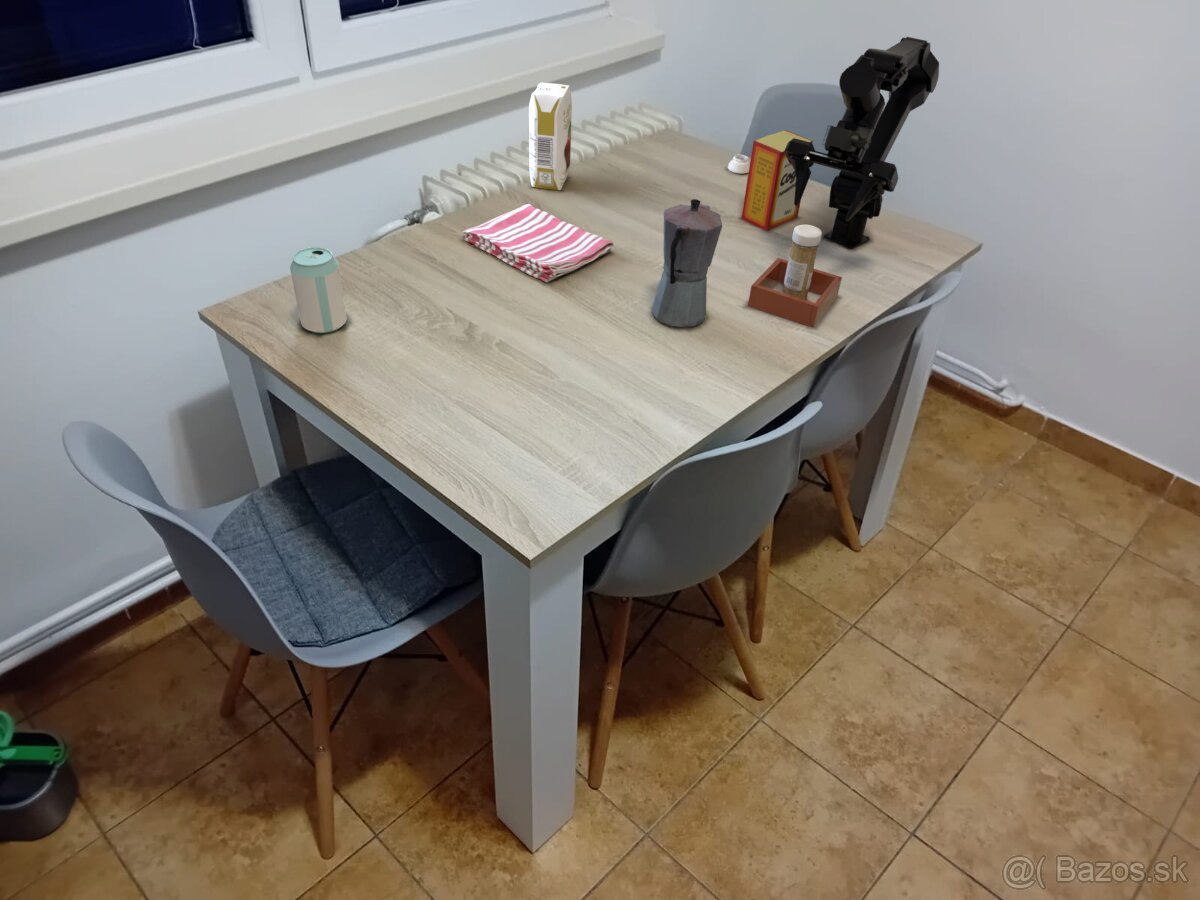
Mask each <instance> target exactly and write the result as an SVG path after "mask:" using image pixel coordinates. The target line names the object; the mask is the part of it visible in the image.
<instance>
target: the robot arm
mask: <svg viewBox="0 0 1200 900" xmlns="http://www.w3.org/2000/svg"><path fill="white" fill-rule="evenodd" d="M939 76H940V61H939V60H938V59H937V58H936V56H935V55H934V53H933V52H932V51H931V42H928V40H926V39H921V38H915V37H911V36H906V37H902V38H901V39H900V41H899V42H898V43H896V44H894V45H892V46H890V47H889V48H887V49H880V48H867V50H865V51H864V54H860V56H859V57H858V58H857V60H856V61H855V62H854V63H853V64H851V65H849V66H848V67H847V68H845V69H844V70H843V72H841V74H840V77H839V80H838V81H839V83H838V84H839V88H840V94H841V96H842V100H843V104H844V106H845V111H844V112H843V115H842V118H841V119H839V121H838V122H837V124H836V126H835V125H830V124H828V125H827V128H826V130H825V134H824V137H823V141H822V144H821V145H822V146H824V150H825V151H827V153H824V152H822V151H821V152H820V151H819V150H818V151H817V150H816V149H815V146H814V144H813V142H812V143H811V142H807V141H803V140H799V139H796V138H793V139H792V140H790V141H789V142H788V143H787V146H786V148H785V151H784V153H785V155H786V157H787V159H788V161H789V163H790V164H791V165H792V166H793V168H794V170H795V171H796V186H795V199H794V205H795V206H798V204H799V202H800V200H801V201H802V198H803V196H804V193H805V190H806V189H807V185H808V182H809V180H810V178H811V175H812V170H811V167H813V166H814V164H815V165H820V166H823V167H827V168H832V169H835V170H838V171H839V173H838V175H836V176H835V177H834V178H833V181H832V183H831V186H830V190H829V201H828V208H831V209H832V208H833V209H836V214H835V218H834V222H833V226H832V230H830V231H829V232H826V233H825V234H823V237H824V238H825V239H827V240H829V241H831V242H833V243H836V244H837V245H840V246H841V247H844V248H846V249H848V250H853V249H855V248H857V247H859V246H861V245H864V244H865V243H867V242H869V241H870V240H871V237H870V236H869V235H866V234H865V231H866V227H867V223H868V219H869V220H872V219H873V218H878V217H880V214H881V209H882V203H883V201H884V199H883V195H884V194H885V191H886V192H889V193H893V192H894V191H895V190H896V187H897V185H898V180H899V175H898V169H897V166H896V164H895V163H892V162H888V161H886V159H887V158H888V155H889V154H890V152H891V149H892V148H893V146H894V144H895V142H896V140H897V138H898V136H899V134H900V132H901V131H902V128H903V126H904V125H905V122H906V121H907V118H908V117H909V115H910V113H911V112H912V111H914V110H915V109H918V108H919V107H921V106H922V105H924V104H925V102H926V101H927V99H928V97H929V95H930V94H932V93H934V91H935V89H936V87H937V85H938V81H939ZM881 91H885V92H888V100H887V101H886V100H885V97H884V96H883V94H882V93H881ZM800 203H801V202H800Z"/></svg>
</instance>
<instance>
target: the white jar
mask: <svg viewBox="0 0 1200 900" xmlns="http://www.w3.org/2000/svg"><path fill="white" fill-rule="evenodd" d="M749 167H750V160H749V157H748V156H747V155H745V154H741V153H740V154H739V153H738V154H735V155H733V158H732V159H731V160H730V161H729V162H728V164H727V169H728V170H729V171H730V172H732V173H734V174H740V175H743V174H747V173H749Z"/></svg>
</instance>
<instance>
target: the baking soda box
mask: <svg viewBox="0 0 1200 900" xmlns="http://www.w3.org/2000/svg"><path fill="white" fill-rule="evenodd" d="M793 138H796V139H799V140H803V141H807V142H811V143H812V144H813V143H814V140H812V139H809V138H807V137H804V136H802V135H799V134H797V133H794V132H792V131H789V130H787V129H785V130H782V131H779V132H776V133H773V134H772V133H771V134H767V135H766V136H763V137H761V138H758V139H755V140H753V142H752V149H751V154H750V160H749V162H750V167H749V172H748V175H747V181H746V185H745V186H746V187H745V193H744V199H743V204H742V211H741V218H740V219H741V220H743V221H745V222H747V223H749V224H751V225H753V226H755V227H757V228H759V229H762V230H763V231H765V232H768V231H771V230H772V229H775V228H777V227H779V226H781V225H784V224H786V223H788V222H791V221H794V220H796V219H797V218H798V216H799V212H800V206H801V203H802V199H801V200H800V202H799V204H798V206H795V205H794V199H795V186H796V171H795V170H794V168H793V166H792V165H791V164H790V163H789V161H788V159H787V157H786V155H785V153H784V151H785V148H786V146H787V143H788V142H789V141H790V140H792V139H793Z"/></svg>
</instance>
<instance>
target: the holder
mask: <svg viewBox="0 0 1200 900" xmlns="http://www.w3.org/2000/svg"><path fill="white" fill-rule="evenodd" d="M787 265H788V260H787V259H784V258H781V257H777V258H776V259H775V260H774V261H773V262H772V263H771V264H770V265H769V267H767V269H766V270H765V271H764V272H763V273H762V274H760V276H759V277H758V278H757V279H756V280H755V281H754V282H753V283H752V284H751V286H750V291H749V297H748V303H747V307H749V308H753V309H756V310H759V311H762V312H765V313H768V314H771V315H773V316H778V317H780V318H782V319H786V320H790V321H793V322H795V323H798V324H802V325H805V326H808V327H810V328H814V327H815V326H816V325H817V324H818V322H820V319H822V317H824V315H825V313H826V312H827V311H828V310H829V309H830V307H831V306H832V305H833V303H834V302H835V301H836V299H838V295H839V291H840V288H841V284H842V280H843V277H842V276H840V275H837V274H834V273H830V272H826V271H824V270H820V269H817V268H814V269H813V274H812V279H811V283H810V287H809V291H808V292H811V293H814V294H816V295H819V297H818V298H817V300H816V301H815V302H814V301H810V300H808V299H807V300H804V299H801V298H798V297H795V296H791V295H788V294H785V293H782V292H783V291H779V290H775V289H773V286H775V284H776V283H777V282H779V283H782V284H784V280H785V275H786V270H787Z"/></svg>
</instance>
